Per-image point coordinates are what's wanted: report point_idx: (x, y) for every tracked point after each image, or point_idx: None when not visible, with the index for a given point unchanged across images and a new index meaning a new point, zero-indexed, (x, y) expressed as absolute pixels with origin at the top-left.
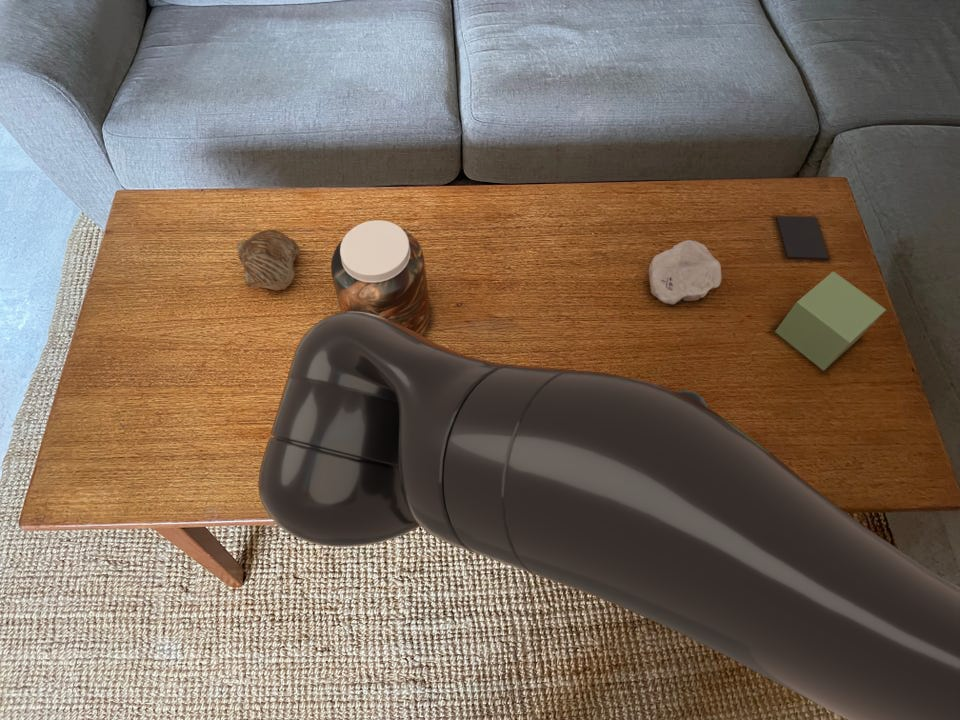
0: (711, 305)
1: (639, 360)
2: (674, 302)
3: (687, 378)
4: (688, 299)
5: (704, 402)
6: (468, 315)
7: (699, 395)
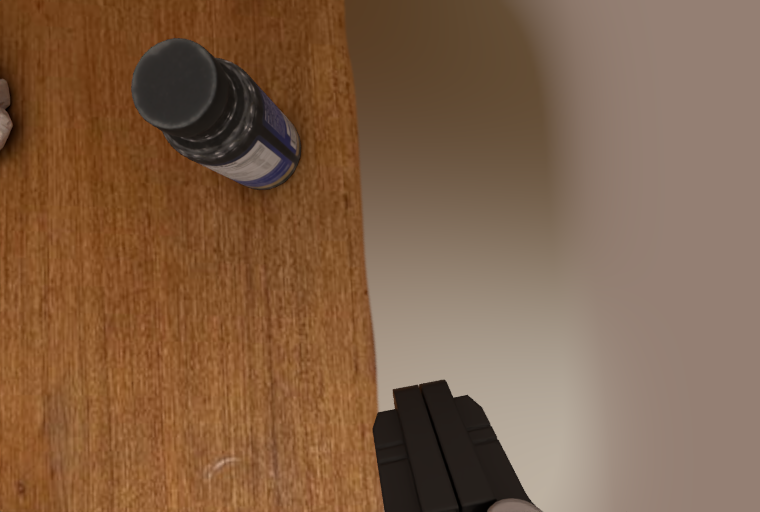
0: (20, 62)
1: (117, 182)
2: (5, 119)
3: None
4: (5, 97)
5: (158, 46)
6: (40, 472)
7: (142, 56)
